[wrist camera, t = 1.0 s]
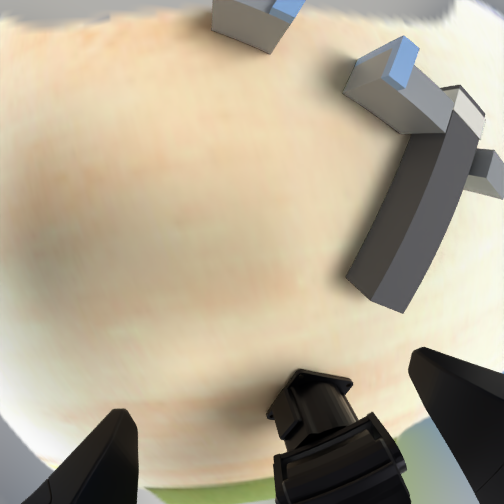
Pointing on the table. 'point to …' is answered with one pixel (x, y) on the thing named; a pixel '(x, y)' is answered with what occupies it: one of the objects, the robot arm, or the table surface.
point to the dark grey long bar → (418, 207)
